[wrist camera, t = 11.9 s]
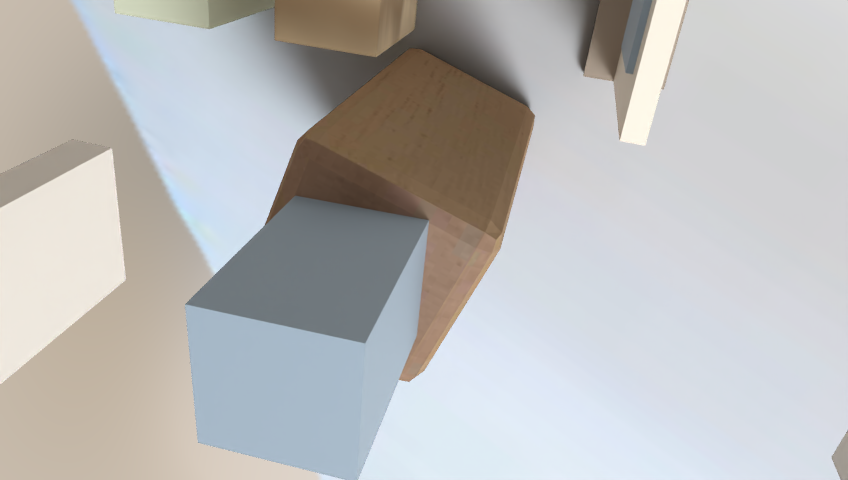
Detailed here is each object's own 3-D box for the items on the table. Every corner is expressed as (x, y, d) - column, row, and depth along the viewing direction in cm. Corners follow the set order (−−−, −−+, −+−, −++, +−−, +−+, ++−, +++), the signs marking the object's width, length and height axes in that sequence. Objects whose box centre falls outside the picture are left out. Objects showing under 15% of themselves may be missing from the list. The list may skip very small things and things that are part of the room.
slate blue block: (295, 195, 29) (185, 304, 21) (428, 220, 28) (365, 343, 20) (295, 309, 32) (197, 442, 24) (416, 335, 31) (356, 482, 23)
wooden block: (357, 161, 50) (230, 300, 33) (411, 39, 45) (295, 127, 28) (474, 224, 50) (410, 396, 33) (541, 109, 45) (508, 241, 28)
